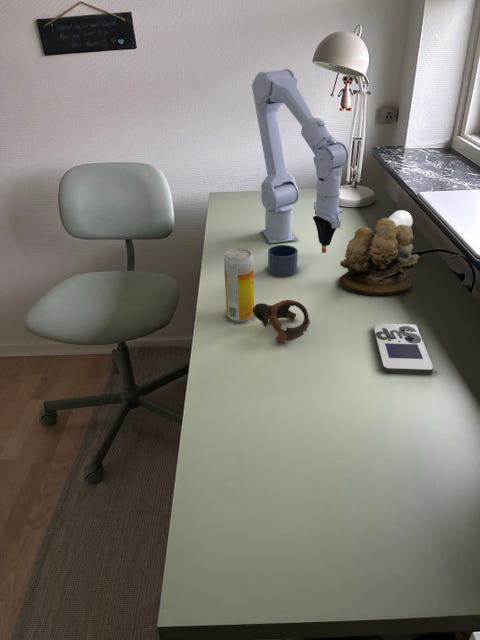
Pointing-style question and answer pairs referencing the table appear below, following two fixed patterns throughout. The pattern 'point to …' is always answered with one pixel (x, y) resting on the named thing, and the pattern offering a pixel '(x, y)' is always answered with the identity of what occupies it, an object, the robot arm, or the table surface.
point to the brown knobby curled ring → (282, 311)
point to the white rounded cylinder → (401, 218)
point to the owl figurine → (379, 260)
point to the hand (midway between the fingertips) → (324, 243)
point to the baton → (324, 249)
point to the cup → (282, 260)
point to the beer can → (239, 284)
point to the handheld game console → (402, 349)
